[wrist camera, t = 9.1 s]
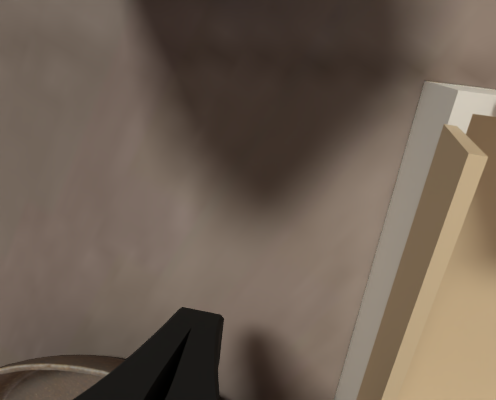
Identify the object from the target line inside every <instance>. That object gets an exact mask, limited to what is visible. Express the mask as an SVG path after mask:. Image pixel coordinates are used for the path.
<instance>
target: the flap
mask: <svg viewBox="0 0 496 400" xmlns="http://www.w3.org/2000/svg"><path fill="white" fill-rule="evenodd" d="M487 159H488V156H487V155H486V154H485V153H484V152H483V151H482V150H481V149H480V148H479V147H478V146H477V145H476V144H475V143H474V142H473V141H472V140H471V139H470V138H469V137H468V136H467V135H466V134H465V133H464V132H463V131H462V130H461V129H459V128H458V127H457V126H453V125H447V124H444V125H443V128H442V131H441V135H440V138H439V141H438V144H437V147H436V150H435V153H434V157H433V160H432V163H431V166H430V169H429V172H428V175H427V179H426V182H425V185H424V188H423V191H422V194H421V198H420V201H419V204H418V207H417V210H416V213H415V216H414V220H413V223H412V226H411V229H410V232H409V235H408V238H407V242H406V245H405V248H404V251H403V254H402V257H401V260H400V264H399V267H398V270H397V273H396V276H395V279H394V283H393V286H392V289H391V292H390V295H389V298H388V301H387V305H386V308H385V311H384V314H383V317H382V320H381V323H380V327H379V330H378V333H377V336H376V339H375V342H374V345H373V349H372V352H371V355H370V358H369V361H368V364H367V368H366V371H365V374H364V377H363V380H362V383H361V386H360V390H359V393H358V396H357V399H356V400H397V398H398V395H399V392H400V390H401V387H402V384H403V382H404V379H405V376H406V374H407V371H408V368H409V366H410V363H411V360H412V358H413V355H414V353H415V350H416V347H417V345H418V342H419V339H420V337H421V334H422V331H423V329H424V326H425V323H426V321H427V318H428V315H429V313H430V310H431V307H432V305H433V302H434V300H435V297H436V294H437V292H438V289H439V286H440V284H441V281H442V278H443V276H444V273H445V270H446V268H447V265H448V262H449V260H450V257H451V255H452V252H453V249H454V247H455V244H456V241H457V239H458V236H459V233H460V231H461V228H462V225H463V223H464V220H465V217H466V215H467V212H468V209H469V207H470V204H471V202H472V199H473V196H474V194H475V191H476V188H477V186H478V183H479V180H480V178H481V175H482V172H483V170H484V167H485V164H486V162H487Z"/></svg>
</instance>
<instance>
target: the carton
mask: <svg viewBox="0 0 496 400" xmlns="http://www.w3.org/2000/svg"><path fill="white" fill-rule="evenodd" d="M444 124H447V125H453V126H457V127H458V128H459V129H461V130H462V131H463V132H464V133H465V134H466V135H467V136H468V137H469V138H470V139H471V140H472V141H473V142H474V143H475V144H476V145H477V146H478V147H479V148H480V149H481V150H482V151H483V152H484V153H485V154H486V155H487V156H488V159H487V162H486V164H485V167H484V170H483V172H482V175H481V178H480V180H479V183H478V186H477V188H476V191H475V194H474V196H473V199H472V202H471V204H470V207H469V209H468V212H467V215H466V217H465V220H464V223H463V225H462V228H461V231H460V233H459V236H458V239H457V241H456V244H455V247H454V249H453V252H452V255H451V257H450V260H449V262H448V265H447V268H446V270H445V273H444V276H443V278H442V281H441V284H440V286H439V289H438V292H437V294H436V297H435V300H434V302H433V305H432V307H431V310H430V313H429V315H428V318H427V321H426V323H425V326H424V329H423V331H422V334H421V337H420V339H419V342H418V345H417V347H416V350H415V353H414V355H413V358H412V360H411V363H410V366H409V368H408V371H407V374H406V376H405V379H404V382H403V384H402V387H401V390H400V392H399V395H398V398H397V400H496V90H495V89H487V88H479V87H471V86H463V85H455V84H447V83H439V82H431V81H424V85H423V88H422V92H421V95H420V99H419V102H418V106H417V109H416V113H415V116H414V120H413V123H412V127H411V130H410V134H409V137H408V141H407V145H406V148H405V152H404V155H403V159H402V162H401V166H400V169H399V173H398V176H397V180H396V183H395V187H394V190H393V194H392V197H391V201H390V204H389V208H388V211H387V215H386V218H385V222H384V225H383V229H382V232H381V236H380V239H379V243H378V246H377V250H376V254H375V257H374V261H373V264H372V268H371V271H370V275H369V278H368V282H367V285H366V289H365V292H364V296H363V299H362V303H361V306H360V310H359V313H358V317H357V320H356V324H355V327H354V331H353V334H352V338H351V341H350V345H349V348H348V352H347V355H346V359H345V363H344V366H343V370H342V373H341V377H340V380H339V384H338V387H337V391H336V394H335V398H334V400H356V399H357V396H358V393H359V390H360V386H361V383H362V380H363V377H364V374H365V371H366V368H367V364H368V361H369V358H370V355H371V352H372V349H373V345H374V342H375V339H376V336H377V333H378V330H379V327H380V323H381V320H382V317H383V314H384V311H385V308H386V305H387V301H388V298H389V295H390V292H391V289H392V286H393V283H394V279H395V276H396V273H397V270H398V267H399V264H400V260H401V257H402V254H403V251H404V248H405V245H406V242H407V238H408V235H409V232H410V229H411V226H412V223H413V220H414V216H415V213H416V210H417V207H418V204H419V201H420V198H421V194H422V191H423V188H424V185H425V182H426V179H427V175H428V172H429V169H430V166H431V163H432V160H433V157H434V153H435V150H436V147H437V144H438V141H439V138H440V135H441V131H442V128H443V125H444Z"/></svg>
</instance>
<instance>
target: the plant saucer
mask: <svg viewBox="0 0 496 400" xmlns="http://www.w3.org/2000/svg"><path fill="white" fill-rule="evenodd" d="M123 361H125V360H124V359H119V358H113V357H105V356H96V355H59V356H50V357H41V358H35V359H30V360H25V361H21V362H17V363H13V364H9V365H5V366H2V367H0V400H73V399H74V398H76V397H77V396H78V395H80V394H81V393H83V392H84V391H86V390H87V389H88V388H90V387H91V386H93V385H94V384H95V383H97V382H98V381H99V380H101V379H102V378H103V377H105V376H106V375H107V374H109V373H110V372H111V371H112V370H114V369H115V368H116V367H117V366H118V365H120V364H121V363H122V362H123Z"/></svg>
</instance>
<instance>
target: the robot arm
mask: <svg viewBox="0 0 496 400" xmlns="http://www.w3.org/2000/svg"><path fill="white" fill-rule="evenodd" d="M223 322H224V318H223V317H222V316H221V315H220V314H215V313H210V312H205V311H200V310H195V309H190V308H185V307H182V308H180V309H179V310H178V311H177V312H176V313H175V314H174V315H173V316H172V317H171V318H170V319H169V320H168V321H167V322H166V323H165V324H164V325H163V326H162V327H161V328H160V329H159V330H158V331H157V332H156V333H155V334H154V335H153V336H152V337H151V338H150V339H148V340H147V341H146V342H145V343H144V344H143V345H142V346H141V347H140V348H139V349H137V350H136V351H135V352H134V353H133V354H132V355H131V356H129V357H128V358H127V359H126V360H125V361H123V362H122V363H121V364H120V365H118V366H117V367H116V368H115V369H114V370H112V371H111V372H110V373H109V374H107V375H106V376H105V377H103V378H102V379H101V380H99V381H98V382H97V383H95V384H94V385H93V386H91V387H90V388H88V389H87V390H86V391H84V392H83V393H81V394H80V395H78V396H77V397H76V398H74V399H73V400H220V396H219V383H218V365H219V359H220V350H221V340H222V331H223Z"/></svg>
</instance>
